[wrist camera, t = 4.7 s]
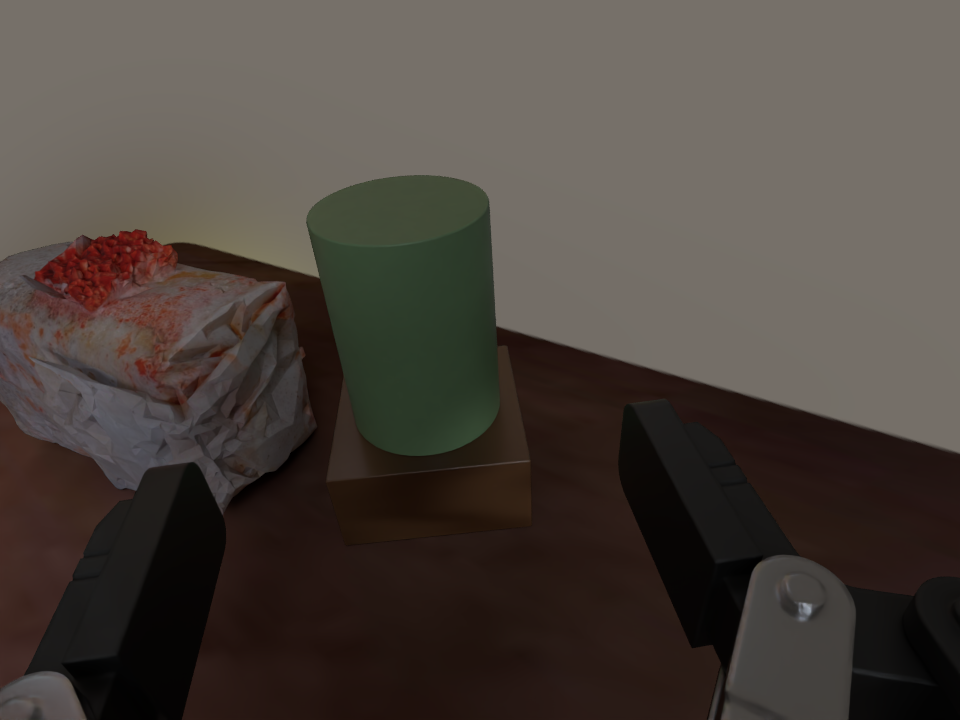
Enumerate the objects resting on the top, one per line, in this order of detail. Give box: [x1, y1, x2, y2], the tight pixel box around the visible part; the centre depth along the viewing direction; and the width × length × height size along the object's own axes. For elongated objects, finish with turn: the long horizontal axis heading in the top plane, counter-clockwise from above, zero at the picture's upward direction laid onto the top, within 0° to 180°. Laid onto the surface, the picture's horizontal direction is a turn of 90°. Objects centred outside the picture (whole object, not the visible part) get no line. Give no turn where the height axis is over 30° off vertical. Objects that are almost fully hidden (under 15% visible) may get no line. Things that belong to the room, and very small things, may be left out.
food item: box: [0, 230, 317, 515], centre depth 25 cm, size 14×8×10 cm, turn 67°
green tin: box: [306, 175, 500, 456], centre depth 21 cm, size 6×6×8 cm
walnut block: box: [326, 346, 532, 546], centre depth 24 cm, size 7×7×4 cm
